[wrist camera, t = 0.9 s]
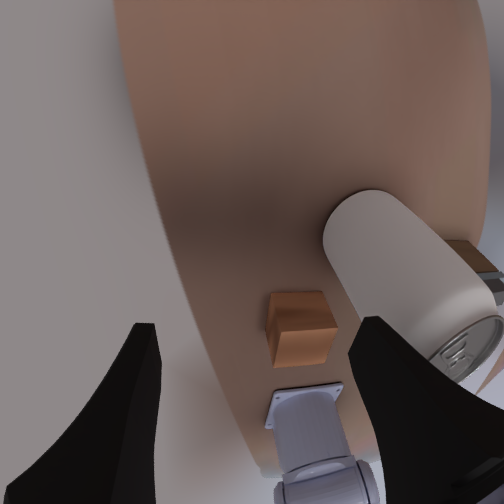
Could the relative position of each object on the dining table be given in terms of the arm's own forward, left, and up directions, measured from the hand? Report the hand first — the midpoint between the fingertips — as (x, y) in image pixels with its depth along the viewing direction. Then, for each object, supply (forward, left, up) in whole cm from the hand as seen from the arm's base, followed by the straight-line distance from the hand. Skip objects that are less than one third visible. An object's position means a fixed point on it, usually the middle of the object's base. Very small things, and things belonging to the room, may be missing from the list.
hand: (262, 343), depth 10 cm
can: (-1, -9, -11) cm, 14 cm away
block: (-9, -5, -10) cm, 14 cm away
